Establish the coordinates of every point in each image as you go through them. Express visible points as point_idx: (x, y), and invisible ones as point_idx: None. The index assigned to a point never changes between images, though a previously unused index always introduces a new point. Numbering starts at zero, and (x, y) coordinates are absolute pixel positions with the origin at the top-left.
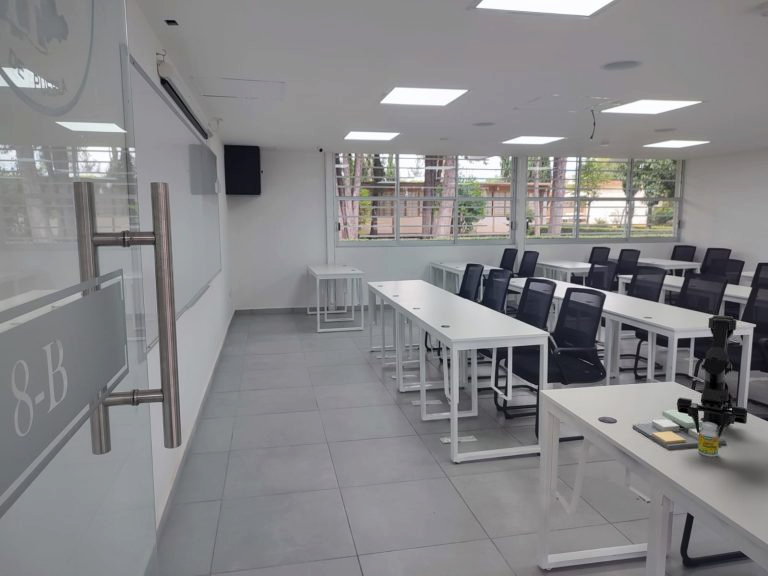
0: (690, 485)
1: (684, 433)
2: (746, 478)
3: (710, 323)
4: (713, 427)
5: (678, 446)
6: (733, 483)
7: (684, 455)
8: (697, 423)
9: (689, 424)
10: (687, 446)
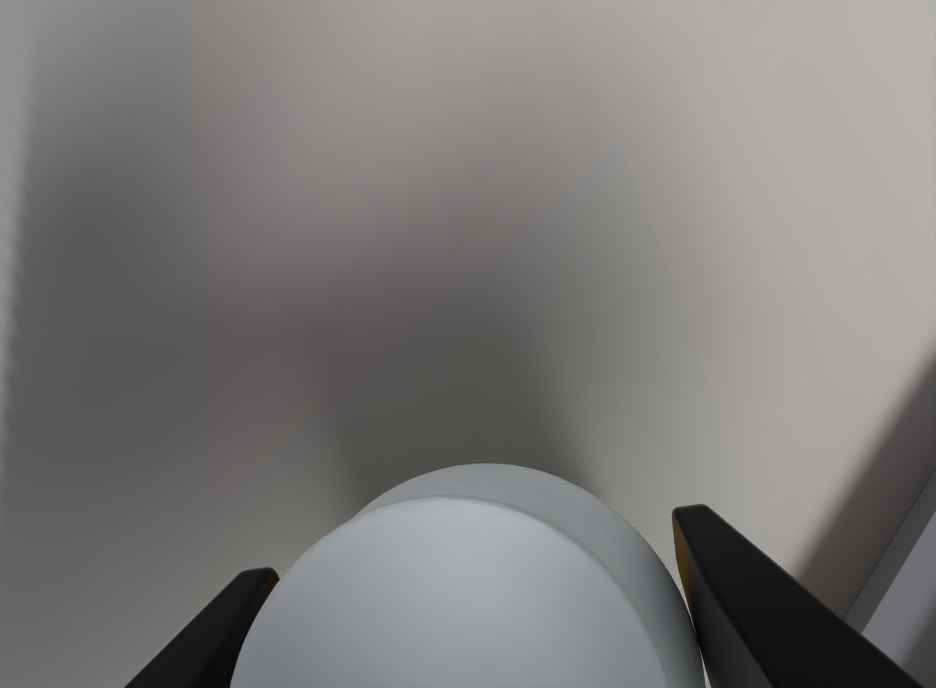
0: None
1: None
2: (119, 215)
3: None
4: (308, 561)
5: (911, 529)
6: (206, 48)
7: (731, 341)
8: (800, 650)
9: None
10: None
